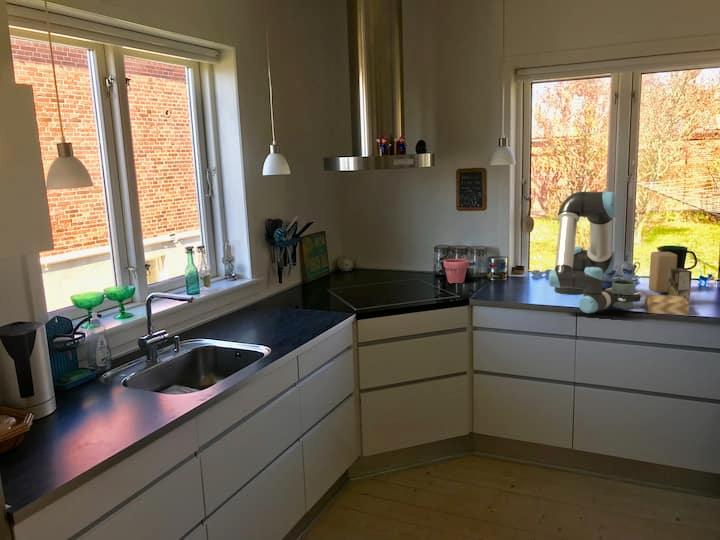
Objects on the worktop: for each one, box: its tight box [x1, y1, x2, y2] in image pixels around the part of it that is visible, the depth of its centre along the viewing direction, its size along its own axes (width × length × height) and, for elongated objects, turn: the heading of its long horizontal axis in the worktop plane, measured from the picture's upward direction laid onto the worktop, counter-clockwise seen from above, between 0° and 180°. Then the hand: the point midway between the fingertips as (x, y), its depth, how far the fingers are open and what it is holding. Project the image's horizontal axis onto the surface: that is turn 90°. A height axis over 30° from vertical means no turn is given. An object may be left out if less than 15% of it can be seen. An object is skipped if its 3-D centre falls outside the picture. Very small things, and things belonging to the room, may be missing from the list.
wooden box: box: [644, 294, 690, 316], centre depth 273 cm, size 16×16×5 cm
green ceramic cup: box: [611, 279, 637, 310], centre depth 280 cm, size 10×10×12 cm
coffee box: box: [666, 267, 693, 304], centre depth 285 cm, size 9×6×16 cm
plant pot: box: [443, 258, 469, 284], centre depth 345 cm, size 14×14×13 cm
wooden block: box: [648, 251, 678, 294], centre depth 311 cm, size 10×10×20 cm
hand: (626, 292), depth 282 cm, fingers open, 13 cm apart
